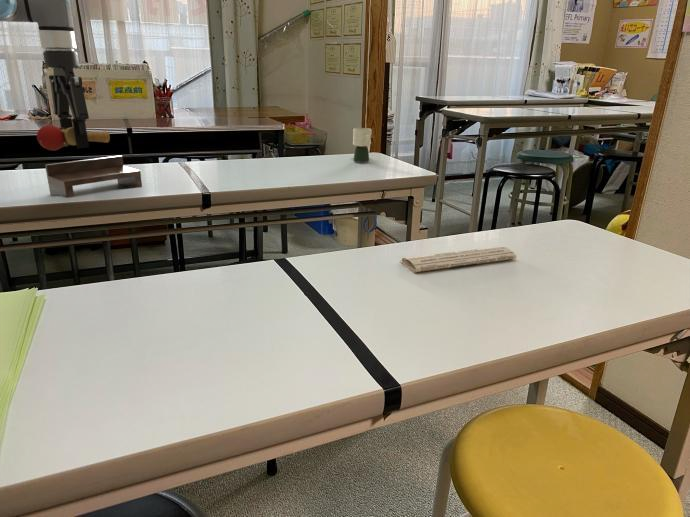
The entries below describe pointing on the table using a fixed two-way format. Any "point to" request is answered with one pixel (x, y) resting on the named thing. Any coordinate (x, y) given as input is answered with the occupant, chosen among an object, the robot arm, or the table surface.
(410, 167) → the table surface
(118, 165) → the shelf
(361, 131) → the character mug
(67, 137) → the kendama
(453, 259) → the newspaper
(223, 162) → the table surface
